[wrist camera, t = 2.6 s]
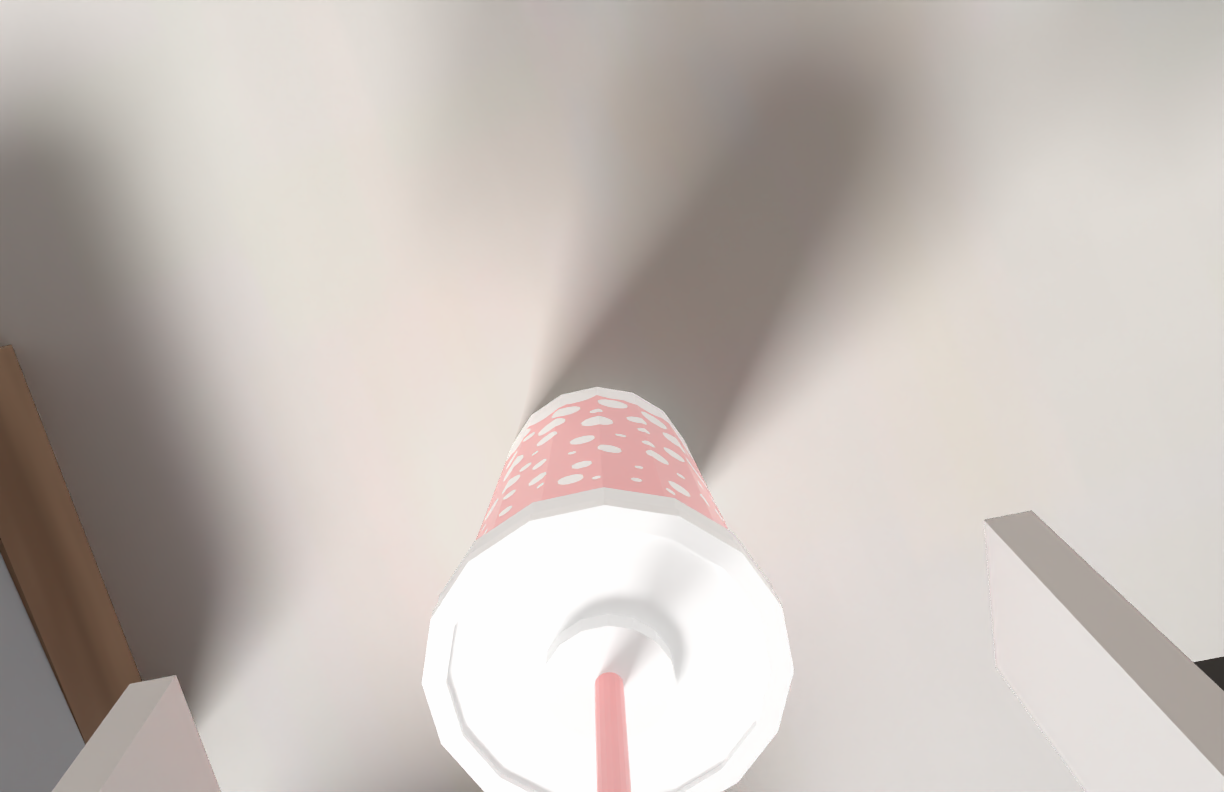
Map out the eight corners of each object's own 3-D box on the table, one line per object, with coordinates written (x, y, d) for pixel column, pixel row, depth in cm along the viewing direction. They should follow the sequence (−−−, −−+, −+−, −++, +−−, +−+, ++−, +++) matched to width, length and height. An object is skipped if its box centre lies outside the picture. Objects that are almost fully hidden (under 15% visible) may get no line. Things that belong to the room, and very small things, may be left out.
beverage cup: (665, 614, 26) (754, 1167, 13) (444, 539, 25) (289, 1047, 12) (759, 406, 24) (975, 790, 11) (525, 320, 24) (453, 621, 10)
